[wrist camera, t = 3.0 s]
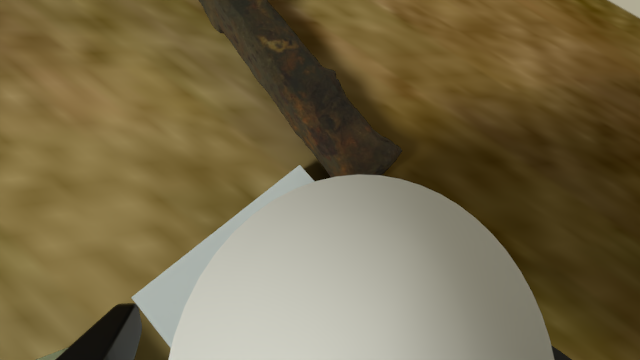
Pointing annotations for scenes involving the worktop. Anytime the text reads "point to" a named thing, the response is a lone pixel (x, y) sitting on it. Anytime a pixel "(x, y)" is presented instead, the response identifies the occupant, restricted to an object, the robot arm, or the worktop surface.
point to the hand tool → (302, 89)
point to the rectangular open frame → (200, 263)
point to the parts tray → (52, 355)
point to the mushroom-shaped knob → (361, 282)
